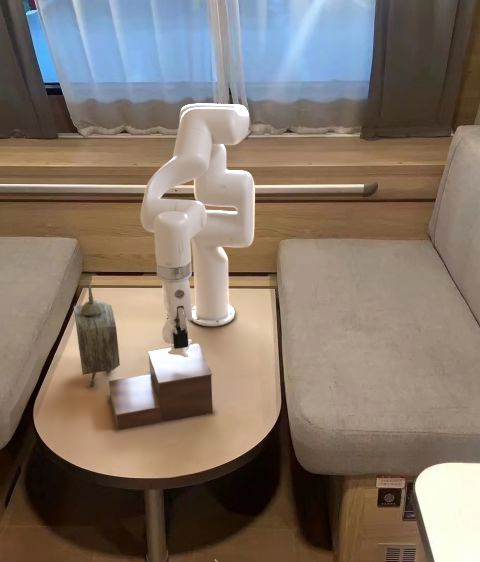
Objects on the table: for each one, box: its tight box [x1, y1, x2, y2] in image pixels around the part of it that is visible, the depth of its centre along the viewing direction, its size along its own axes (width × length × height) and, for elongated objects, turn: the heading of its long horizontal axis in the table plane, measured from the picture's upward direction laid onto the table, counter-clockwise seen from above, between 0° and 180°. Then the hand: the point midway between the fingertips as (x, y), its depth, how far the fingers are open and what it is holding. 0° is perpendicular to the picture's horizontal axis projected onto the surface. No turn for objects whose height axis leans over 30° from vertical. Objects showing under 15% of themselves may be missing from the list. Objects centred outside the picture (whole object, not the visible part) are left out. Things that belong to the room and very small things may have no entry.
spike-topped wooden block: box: [73, 282, 121, 388], centre depth 184 cm, size 14×9×25 cm, turn 13°
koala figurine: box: [161, 317, 193, 357], centre depth 169 cm, size 8×7×12 cm
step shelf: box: [108, 343, 214, 431], centre depth 175 cm, size 13×22×11 cm, turn 105°
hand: (177, 339), depth 171 cm, fingers closed on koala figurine, 5 cm apart
